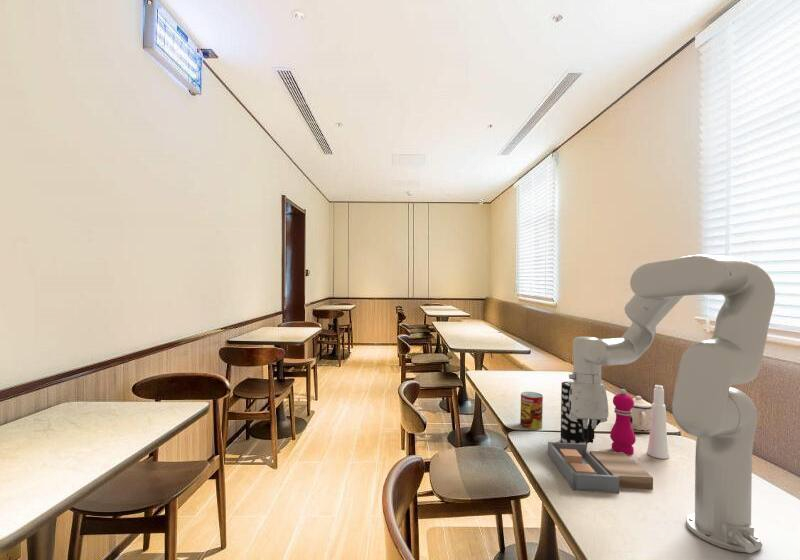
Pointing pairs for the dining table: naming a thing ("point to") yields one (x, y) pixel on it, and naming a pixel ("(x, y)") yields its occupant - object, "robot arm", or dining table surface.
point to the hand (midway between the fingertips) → (588, 441)
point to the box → (583, 482)
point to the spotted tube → (569, 429)
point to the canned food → (531, 410)
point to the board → (624, 469)
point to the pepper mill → (623, 424)
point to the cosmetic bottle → (658, 426)
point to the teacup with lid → (641, 414)
